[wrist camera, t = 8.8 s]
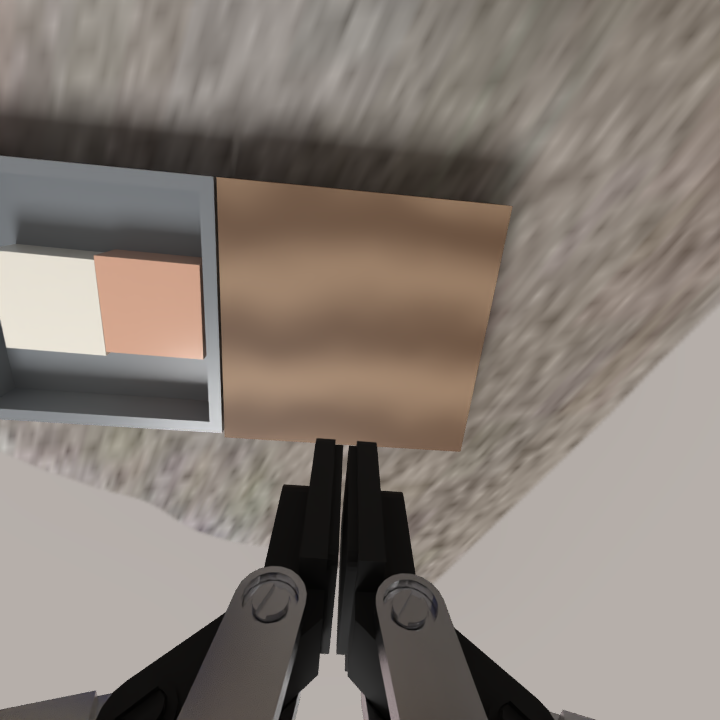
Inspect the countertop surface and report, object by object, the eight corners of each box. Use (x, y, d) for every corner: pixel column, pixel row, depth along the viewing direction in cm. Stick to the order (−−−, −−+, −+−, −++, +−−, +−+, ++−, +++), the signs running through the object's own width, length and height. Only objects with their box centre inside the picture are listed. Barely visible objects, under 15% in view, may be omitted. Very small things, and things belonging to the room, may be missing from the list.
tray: (-46, 150, 25) (-104, 145, 22) (229, 177, 26) (213, 176, 23) (12, 393, 31) (-27, 417, 28) (234, 408, 32) (222, 433, 29)
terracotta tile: (115, 249, 27) (93, 255, 25) (211, 258, 27) (199, 265, 25) (125, 338, 29) (106, 351, 27) (214, 345, 30) (203, 359, 27)
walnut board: (234, 178, 26) (216, 177, 23) (489, 203, 27) (512, 206, 24) (238, 408, 32) (224, 437, 29) (447, 421, 33) (460, 451, 30)
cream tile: (93, 259, 25) (115, 253, 27) (-16, 249, 24) (16, 243, 27) (106, 355, 27) (125, 342, 29) (6, 347, 27) (33, 334, 29)
